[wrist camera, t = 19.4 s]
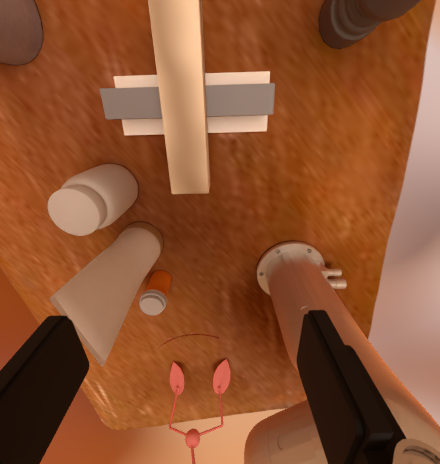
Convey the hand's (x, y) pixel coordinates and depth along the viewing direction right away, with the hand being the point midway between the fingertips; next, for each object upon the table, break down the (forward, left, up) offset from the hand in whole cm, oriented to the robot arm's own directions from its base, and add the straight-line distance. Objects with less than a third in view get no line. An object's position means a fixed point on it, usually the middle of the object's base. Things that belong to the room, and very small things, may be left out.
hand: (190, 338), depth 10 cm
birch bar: (+2, -10, -23) cm, 25 cm away
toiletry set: (+13, +10, -31) cm, 35 cm away
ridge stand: (+2, -10, -30) cm, 32 cm away
